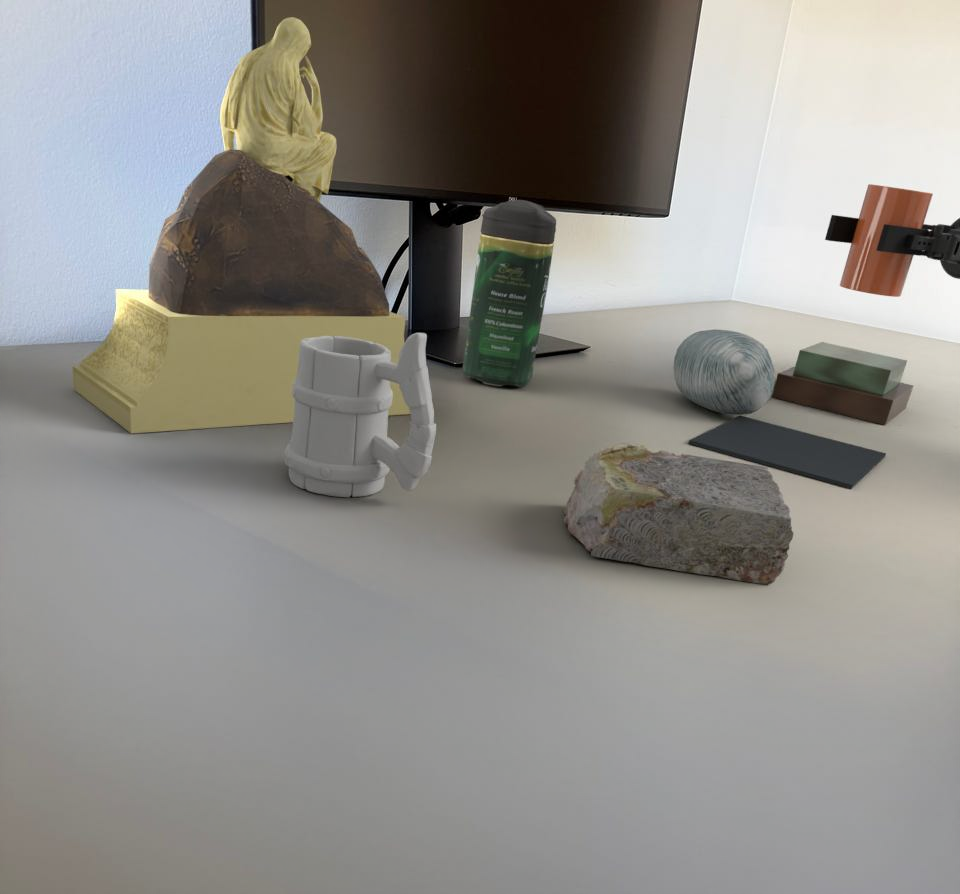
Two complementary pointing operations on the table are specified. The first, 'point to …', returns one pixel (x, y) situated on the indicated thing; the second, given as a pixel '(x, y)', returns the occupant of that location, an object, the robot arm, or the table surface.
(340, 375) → the mug
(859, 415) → the stack
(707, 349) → the grey streaked ovoid
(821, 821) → the table surface
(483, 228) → the coffee jar
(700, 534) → the geological specimen
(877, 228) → the canister
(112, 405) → the hooded thinker statue
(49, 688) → the table surface
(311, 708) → the table surface
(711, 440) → the mat
